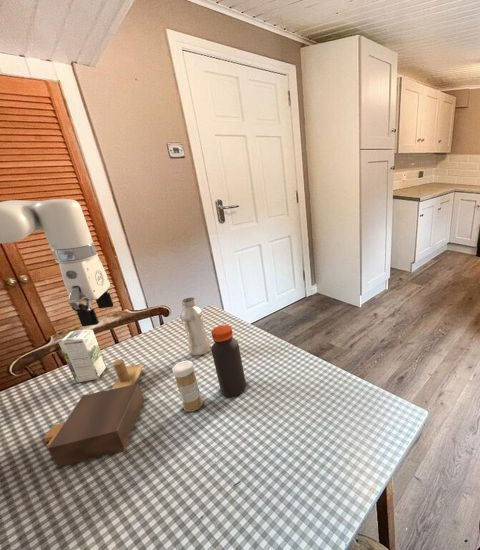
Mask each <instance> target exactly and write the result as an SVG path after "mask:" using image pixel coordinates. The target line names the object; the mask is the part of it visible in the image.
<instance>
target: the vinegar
mask: <svg viewBox="0 0 480 550" xmlns="http://www.w3.org/2000/svg"><path fill="white" fill-rule="evenodd" d="M210 333H211V337H212V340H213V344H212V346H211V347H210V350H211V355H212V359H213V363H214V364H213V365H214V368H215V372H216V377H217V381H218V384H219V389H220V394H221V395H222V396H223V397H225V398H232V397H237V396H238V395H240V394H242V393H243V392H244V391H245V390H246V388H247V382H246V377H245V371H244V365H243V360H242V355H241V351H240V345H239V344H240V343H239V341H238V340H237V339H235V338H233V337H234V333H233V329H232V326H231V325H228V324H222V325H217V326H216V327H213V329H212V330H211V332H210Z"/></svg>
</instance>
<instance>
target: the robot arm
mask: <svg viewBox="0 0 480 550" xmlns="http://www.w3.org/2000/svg"><path fill="white" fill-rule="evenodd" d="M87 223H88V222H87V221H86V217H85V215H84V212H83V208H82V206H81V204H80V203H79V202H78V201H77V200H75V199H72V198H53V199H45V200H19V199H17V200H16V199H12V200H9V199H8V200H4V201H0V244H12V243H17V242H20V241H22V240H24V239H25V238H27V237H29V236H30V235H32V234H35V233H37V232H43V233H44V236H45V239H46V241H47V243H48V246H49V249H50V251H51V253H52V256H53V258H54V260H55V263H56V264H58V265H59V270H60V274H61V278H62V281H63V284H64V287H65V290H66V292H67V294H68V299H67V303H68V305H69V306H70V307H71V310H73V311H74V313H75V314H76V315H77V317H78V319H79V322H80V324H81V327H89V326H96V325H99V323H100V322H99V319H98V316H97V313H96V311H95V308H92V306H93V303H92V302H93V301H95V302H96V304H97V307H98V309H100V310H101V309H108V308H113V307H114V302H113V298H112V296H111V293H110V287H111V282H110V280H109V277H108V275H107V272H106V270H105V267H104V266H103V263H102V261H101V260H100V257H99V253H98V252H97V249H96V246H95V242H94V240H93V238H92V234H91V232H90V228H89V226H88V224H87ZM84 303H85V304H86V305H85V304H84Z"/></svg>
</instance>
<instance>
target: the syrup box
mask: <svg viewBox="0 0 480 550" xmlns="http://www.w3.org/2000/svg"><path fill="white" fill-rule="evenodd" d="M58 345H59V347H60V349H61V352H62V355H63V357H64V359H65V361H66V364H67V366H68V368H69V370H70V373H71V376H72V378H73V380H74V382H75V384H77V383H83V382H88V381H94V380H99V379H100V377H101V376H102V374H103V373H104V372H105V370H106V369H107V364H106V362H105V359H104V356H103V353H102V351H101V348H100V346H99V343H98V340H97V337H96V335H95V332H94V330H93V329H79V330H73V331H70V332H69V333H67V334H66V335H65V336H64V337H63V338H62V339H61V340H59V342H58Z"/></svg>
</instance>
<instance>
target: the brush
mask: <svg viewBox="0 0 480 550" xmlns="http://www.w3.org/2000/svg"><path fill="white" fill-rule="evenodd" d="M112 366H113V369H114V371H115V373H116V376H117V379H116V380H115V382H114V384H113V386H112V387H111V389H116V388H120V387H125V386H130V385H134V384H139V383H140V381H141V379H142V377H143V375H144V370H143V367H142V364H141V363H139V364H133V365H127V366H126V363H125V361H124V359H122V358H121V359H117V360H115V361H113V362H112Z"/></svg>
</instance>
